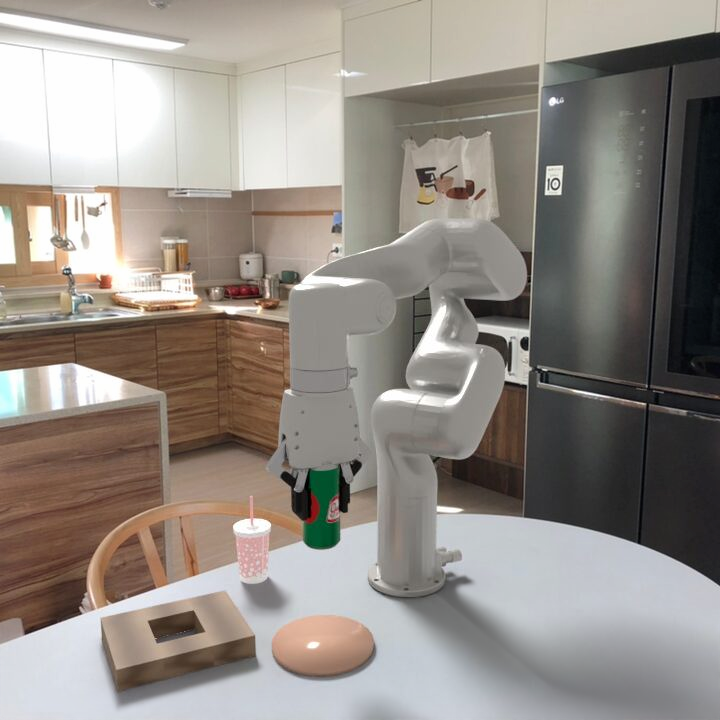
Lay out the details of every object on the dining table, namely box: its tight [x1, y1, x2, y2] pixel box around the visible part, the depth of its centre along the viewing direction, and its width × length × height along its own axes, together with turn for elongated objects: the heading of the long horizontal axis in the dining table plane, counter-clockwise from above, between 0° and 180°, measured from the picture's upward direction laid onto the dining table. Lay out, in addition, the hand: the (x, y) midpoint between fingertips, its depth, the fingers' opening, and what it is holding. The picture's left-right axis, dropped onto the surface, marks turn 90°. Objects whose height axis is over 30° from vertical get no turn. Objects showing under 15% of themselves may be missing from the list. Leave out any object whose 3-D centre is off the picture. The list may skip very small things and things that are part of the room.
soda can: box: [301, 461, 342, 551], centre depth 101 cm, size 5×5×12 cm
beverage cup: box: [232, 495, 272, 585], centre depth 124 cm, size 6×6×14 cm
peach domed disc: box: [271, 614, 375, 677], centre depth 105 cm, size 14×14×1 cm
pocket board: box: [100, 589, 257, 692], centre depth 105 cm, size 18×14×3 cm
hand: (321, 511), depth 102 cm, fingers closed on soda can, 5 cm apart
